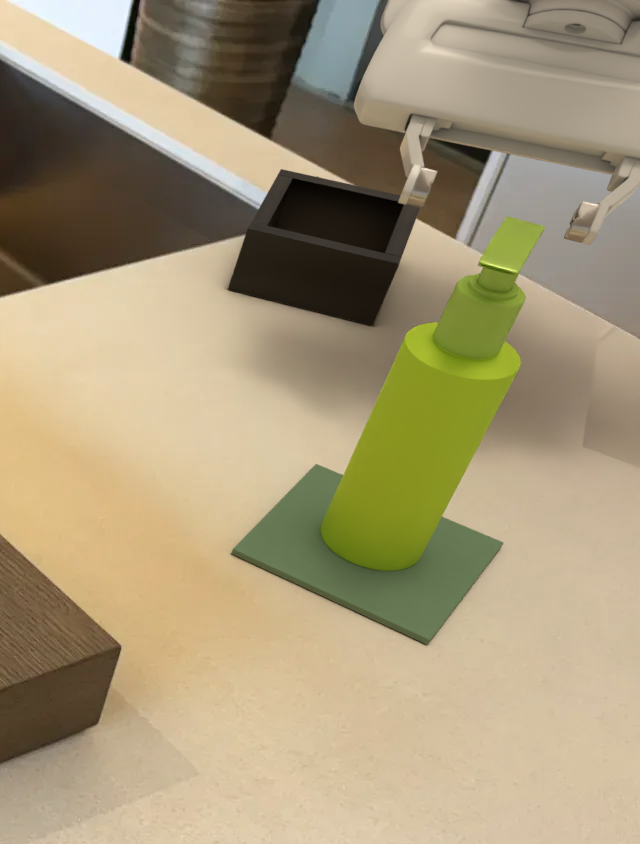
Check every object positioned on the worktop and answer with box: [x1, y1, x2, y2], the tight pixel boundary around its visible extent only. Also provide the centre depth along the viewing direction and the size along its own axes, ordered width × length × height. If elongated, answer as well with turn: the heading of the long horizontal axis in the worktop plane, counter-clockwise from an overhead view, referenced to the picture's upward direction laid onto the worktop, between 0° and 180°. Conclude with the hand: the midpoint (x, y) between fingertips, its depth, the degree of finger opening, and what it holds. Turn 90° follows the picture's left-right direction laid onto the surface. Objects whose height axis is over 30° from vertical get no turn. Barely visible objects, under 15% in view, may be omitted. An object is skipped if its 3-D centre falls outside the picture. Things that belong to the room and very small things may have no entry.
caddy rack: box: [227, 168, 421, 327], centre depth 105 cm, size 12×11×5 cm
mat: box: [231, 463, 504, 645], centre depth 83 cm, size 12×12×1 cm
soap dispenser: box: [320, 216, 546, 571], centre depth 75 cm, size 6×7×20 cm
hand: (493, 220), depth 82 cm, fingers open, 8 cm apart
